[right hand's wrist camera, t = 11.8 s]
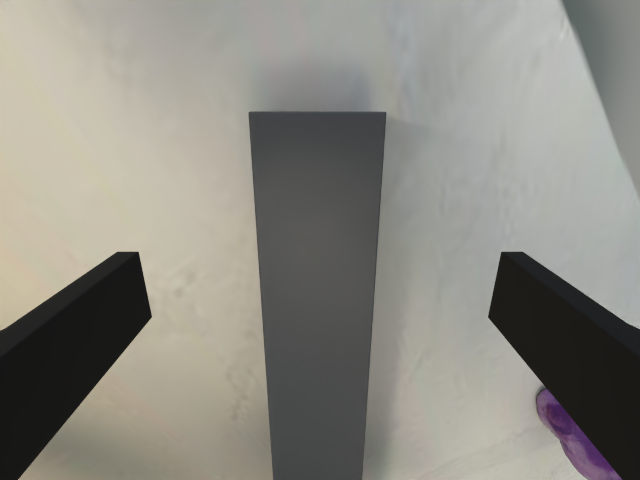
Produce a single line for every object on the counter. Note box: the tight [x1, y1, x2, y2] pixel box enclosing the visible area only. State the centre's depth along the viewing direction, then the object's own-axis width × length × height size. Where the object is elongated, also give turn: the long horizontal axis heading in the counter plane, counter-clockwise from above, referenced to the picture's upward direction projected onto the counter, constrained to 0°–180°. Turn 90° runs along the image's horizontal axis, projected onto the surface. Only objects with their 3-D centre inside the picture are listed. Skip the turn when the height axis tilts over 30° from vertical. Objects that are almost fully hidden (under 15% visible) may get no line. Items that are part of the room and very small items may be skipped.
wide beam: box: [249, 112, 386, 480], centre depth 35 cm, size 52×9×7 cm, turn 0°
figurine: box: [536, 389, 622, 480], centre depth 34 cm, size 9×10×15 cm
